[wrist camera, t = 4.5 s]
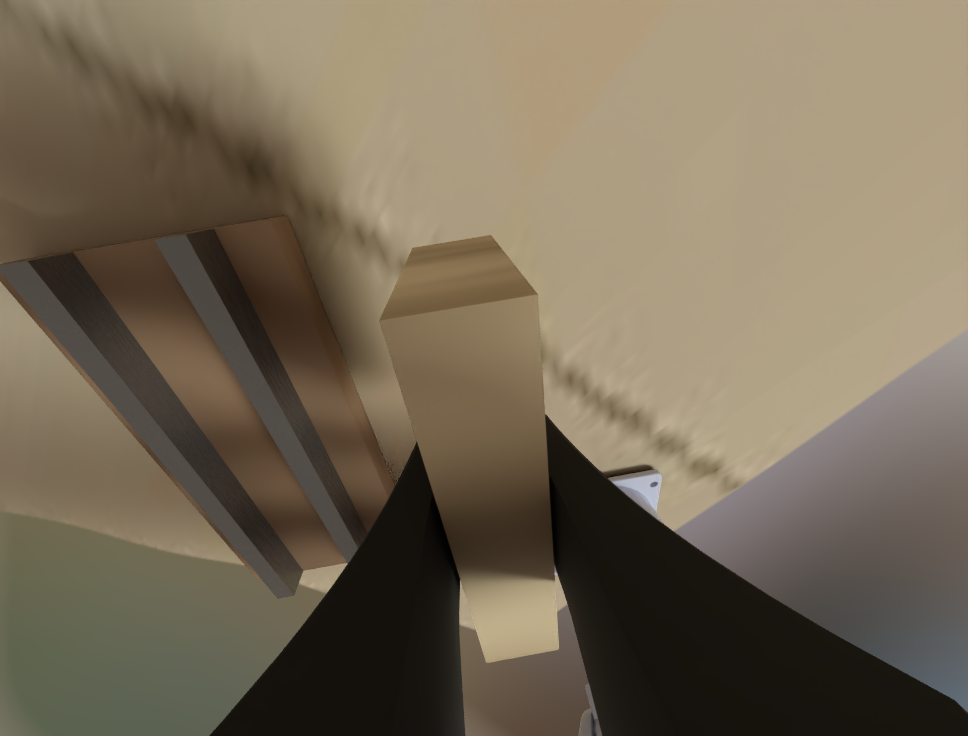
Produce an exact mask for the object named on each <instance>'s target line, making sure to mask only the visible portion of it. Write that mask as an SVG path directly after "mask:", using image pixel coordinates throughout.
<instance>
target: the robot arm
mask: <svg viewBox="0 0 968 736" xmlns="http://www.w3.org/2000/svg"><path fill="white" fill-rule="evenodd" d="M545 423H546V440H547V457H548V473H549V490H550V507H551V523H552V540H553V557H554V574H555V575H556V574H558V577H559V580H560V583H561V585H562V588H563V591H564V594H565V597H566V600H567V604H568V607H569V610H570V613H571V616H572V620H573V624H574V628H575V632H576V635H577V639H578V643H579V647H580V651H581V654H582V658H583V662H584V666H585V670H586V674H587V678H588V681H589V684H587V685H586V686H585V688H586V691H587V695H588V699H589V702H590V706H591V708H590V709H588V710H587V711H585V712H584V713H583V715H582V718H581V724H580V731H579V735H578V736H968V712H966V711H965V710H964V709H963V708H962V707H961V706H960V705H959V704H958V703H957V702H956V701H955V700H953V699H951V698H950V697H948V696H946V695H944V694H942V693H940V692H939V691H937V690H935V689H933V688H931V687H929V686H928V685H926V684H924V683H922V682H920V681H918V680H917V679H915V678H913V677H911V676H909V675H908V674H906V673H904V672H902V671H900V670H898V669H896V668H895V667H893V666H891V665H889V664H887V663H885V662H884V661H882V660H880V659H878V658H876V657H875V656H873V655H871V654H869V653H867V652H865V651H863V650H862V649H860V648H858V647H856V646H854V645H853V644H851V643H849V642H847V641H845V640H844V639H842V638H840V637H838V636H836V635H835V634H833V633H831V632H829V631H828V630H826V629H824V628H822V627H821V626H819V625H817V624H816V623H814V622H813V621H811V620H809V619H807V618H806V617H804V616H803V615H801V614H799V613H798V612H796V611H794V610H792V609H791V608H789V607H788V606H786V605H784V604H783V603H781V602H779V601H777V600H776V599H774V598H772V597H771V596H769V595H768V594H766V593H765V592H763V591H762V590H760V589H758V588H757V587H755V586H754V585H752V584H751V583H749V582H748V581H746V580H745V579H743V578H741V577H740V576H738V575H737V574H735V573H734V572H732V571H730V570H729V569H727V568H726V567H724V566H723V565H721V564H720V563H718V562H717V561H715V560H714V559H712V558H711V557H709V556H708V555H706V554H705V553H703V552H702V551H700V550H699V549H697V548H696V547H695V546H693V545H692V544H690V543H689V542H688V541H686V540H685V539H683V538H682V537H681V536H679V535H678V534H676V533H675V532H674V531H672V530H671V529H669V528H668V527H667V526H666V525H664V524H663V522H662V521H661V519H660V518H659V516H658V514H657V513H656V510H657V504H658V498H659V492H660V486H661V480H662V475H661V474H660V472H659V471H658V470H648V471H643V472H637V473H632V474H626V475H621V476H615V477H610V478H607V477H606V476H605V475H604V474H603V473H601V472H600V471H599V470H598V469H597V468H596V467H595V466H594V465H593V464H592V463H591V462H590V461H589V460H588V459H587V458H586V457H585V456H584V455H583V454H582V453H581V452H580V451H579V450H578V449H577V448H576V447H575V446H574V445H573V444H572V443H571V442H570V441H569V440H568V439H567V438H566V437H565V436H564V435H563V434H562V432H561V431H560V430H559V429H558V428H557V427H556V426H555V425H554V423H553V422H552V421H551V420H550V419H549V417H548V416H547V415H546V414H545ZM459 599H460V577H459V574H458V571H457V567H456V564H455V561H454V558H453V555H452V551H451V548H450V545H449V542H448V539H447V535H446V532H445V529H444V526H443V523H442V519H441V516H440V513H439V510H438V507H437V504H436V500H435V497H434V494H433V491H432V488H431V484H430V481H429V478H428V475H427V472H426V468H425V465H424V462H423V459H422V456H421V452H420V449H419V446H418V443H417V442H416V445H415V447H414V449H413V451H412V453H411V456H410V458H409V460H408V462H407V464H406V466H405V468H404V470H403V472H402V474H401V476H400V478H399V480H398V482H397V483H396V485H395V487H394V489H393V491H392V493H391V495H390V496H389V498H388V500H387V502H386V504H385V506H384V507H383V509H382V511H381V512H380V514H379V516H378V517H377V519H376V521H375V522H374V524H373V526H372V527H371V529H370V530H369V532H368V534H367V535H366V537H365V539H364V540H363V542H362V543H361V545H360V546H359V548H358V550H357V551H356V553H355V554H354V556H353V557H352V559H351V560H350V562H349V563H348V564H347V566H346V567H345V569H344V570H343V572H342V573H341V574H340V576H339V577H338V579H337V580H336V582H335V583H334V584H333V586H332V587H331V589H330V590H329V591H328V593H327V594H326V595H325V597H324V598H323V599H322V601H321V602H320V603H319V605H318V606H317V607H316V608H315V610H314V611H313V612H312V614H311V615H310V616H309V618H308V619H307V620H306V622H305V623H304V624H303V626H302V627H301V628H300V630H299V631H298V632H297V633H296V634H295V636H294V637H293V638H292V640H291V641H290V642H289V643H288V644H287V646H286V647H285V648H284V649H283V651H282V652H281V653H280V654H279V656H278V657H277V658H276V659H275V660H274V662H273V663H272V664H271V665H270V666H269V667H268V668H267V670H266V671H265V672H264V673H263V674H262V675H261V677H260V678H259V679H258V680H257V682H255V684H254V685H253V686H252V687H251V688H250V689H249V691H248V692H247V693H246V694H245V695H244V696H243V698H242V699H241V700H240V701H239V703H237V705H236V706H235V707H234V708H233V709H232V710H231V712H230V713H229V714H228V715H227V716H226V718H225V719H224V720H223V721H222V722H221V723H220V724H219V726H218V727H217V728H216V729H215V730H214V731H213V732H212V733H211V734H210V736H465V725H464V709H463V693H462V676H461V658H460V639H459Z"/></svg>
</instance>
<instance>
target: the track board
mask: <svg viewBox="0 0 968 736" xmlns="http://www.w3.org/2000/svg"><path fill="white" fill-rule="evenodd" d="M0 281H1V282H2V284H3V285H4V286H5V287H6V288H7V289H8V291H9V292H10V293H11V294H12V295H13V296H14V298H15V299H16V300H17V301H18V302H19V303H20V304H21V306H22V307H23V308H24V309H25V310H26V311H27V313H28V314H29V315H30V316H31V317H32V318H33V320H34V321H35V322H36V323H37V324H38V325H39V327H40V328H41V329H42V330H43V331H44V332H45V333H46V335H47V336H48V337H49V338H50V339H51V340H52V342H53V343H54V344H55V345H56V346H57V347H58V349H59V350H60V351H61V352H62V353H63V354H64V356H65V357H66V358H67V359H68V360H69V361H70V363H71V364H72V365H73V366H74V367H75V368H76V369H77V371H78V372H79V373H80V374H81V375H82V376H83V378H84V379H85V380H86V381H87V382H88V383H89V385H90V386H91V387H92V388H93V389H94V390H95V392H96V393H97V394H98V395H99V396H100V397H101V399H102V400H103V401H104V402H105V403H106V404H107V405H108V407H109V408H110V409H111V410H112V411H113V412H114V414H115V415H116V416H117V417H118V418H119V419H120V421H121V422H122V423H123V424H124V425H125V426H126V428H127V429H128V430H129V431H130V432H131V433H132V434H133V436H134V437H135V438H136V439H137V440H138V441H139V443H140V444H141V445H142V446H143V447H144V448H145V450H146V451H147V452H148V453H149V454H150V455H151V457H152V458H153V459H154V460H155V461H156V462H157V464H158V465H159V466H160V467H161V468H162V469H163V470H164V472H165V473H166V474H167V475H168V476H169V477H170V479H171V480H172V481H173V482H174V483H175V484H176V486H177V487H178V488H179V489H180V490H181V491H182V493H183V494H184V495H185V496H186V497H187V498H188V499H189V501H190V502H191V503H192V504H193V505H194V506H195V508H196V509H197V510H198V511H199V512H200V513H201V515H202V516H203V517H204V518H205V519H206V520H207V522H208V523H209V524H210V525H211V526H212V527H213V529H214V530H215V531H216V532H217V533H218V534H219V535H220V537H221V538H222V539H223V540H224V541H225V542H226V544H227V545H228V546H229V547H230V548H231V549H232V551H233V552H234V553H235V554H236V555H237V556H238V558H239V559H240V560H241V561H242V562H243V563H244V564H245V566H246V567H247V568H248V569H249V570H250V571H251V572H252V574H253V575H254V576H255V577H256V578H257V579H260V578H261V579H262V580H263V582H264V583H265V584H266V585H267V586H268V587H269V589H270V590H271V591H272V592H273V593H274V595H275V596H276V597H277V598H283V597H288V596H294V594H295V592H296V589H297V586H298V584H299V581H300V578H301V575H302V573H303V571H304V570H309V569H315V568H320V567H326V566H331V565H337V564H342V563H347V564H348V563H349V562H350V560H351V559H352V557H353V556H354V554H355V553H356V551H357V550H358V548H359V546H360V545H361V543H362V542H363V540H364V539H365V537H366V535H367V534H368V532H369V530H370V529H371V527H372V526H373V524H374V522H375V521H376V519H377V517H378V516H379V514H380V512H381V511H382V509H383V507H384V506H385V504H386V502H387V500H388V498H389V496H390V495H391V493H392V491H393V489H394V487H395V485H394V483H393V480H392V478H391V475H390V473H389V470H388V468H387V465H386V463H385V460H384V457H383V455H382V452H381V450H380V447H379V445H378V442H377V440H376V437H375V435H374V432H373V430H372V427H371V425H370V422H369V420H368V417H367V415H366V412H365V410H364V407H363V405H362V402H361V400H360V397H359V395H358V392H357V390H356V387H355V385H354V382H353V380H352V377H351V375H350V372H349V370H348V367H347V365H346V362H345V360H344V357H343V355H342V352H341V350H340V347H339V345H338V342H337V340H336V337H335V335H334V332H333V330H332V327H331V325H330V322H329V320H328V317H327V315H326V312H325V310H324V307H323V304H322V302H321V299H320V297H319V294H318V292H317V289H316V287H315V284H314V282H313V279H312V277H311V274H310V272H309V269H308V267H307V264H306V262H305V259H304V257H303V254H302V252H301V249H300V247H299V244H298V242H297V239H296V237H295V234H294V232H293V229H292V227H291V224H290V222H289V219H288V217H287V215H286V216H280V217H274V218H268V219H262V220H256V221H250V222H244V223H238V224H232V225H226V226H220V227H214V228H208V229H202V230H196V231H190V232H184V233H178V234H172V235H166V236H160V237H154V238H149V239H143V240H137V241H131V242H125V243H119V244H113V245H107V246H101V247H95V248H89V249H83V250H77V251H71V252H65V253H59V254H53V255H47V256H41V257H35V258H30V259H25V260H19V261H14V262H9V263H4V264H0Z"/></svg>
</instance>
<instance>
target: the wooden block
mask: <svg viewBox="0 0 968 736" xmlns="http://www.w3.org/2000/svg"><path fill="white" fill-rule="evenodd" d="M379 322H380V325H381V328H382V331H383V334H384V338H385V341H386V344H387V347H388V350H389V354H390V357H391V360H392V363H393V366H394V370H395V373H396V376H397V379H398V382H399V385H400V389H401V392H402V395H403V398H404V401H405V405H406V408H407V411H408V414H409V417H410V421H411V424H412V427H413V430H414V433H415V437H416V440H417V443H418V446H419V449H420V452H421V456H422V459H423V462H424V465H425V468H426V472H427V475H428V478H429V481H430V484H431V488H432V491H433V494H434V497H435V500H436V504H437V507H438V510H439V513H440V516H441V519H442V523H443V526H444V529H445V532H446V535H447V539H448V542H449V545H450V548H451V551H452V555H453V558H454V561H455V564H456V567H457V571H458V574H459V577H460V580H461V583H462V586H463V590H464V593H465V596H466V599H467V602H468V606H469V609H470V612H471V615H472V618H473V622H474V625H475V628H476V631H477V634H478V638H479V641H480V644H481V647H482V650H483V653H484V657H485V659H486V663H489V662H495V661H500V660H505V659H511V658H516V657H521V656H527V655H532V654H537V653H543V652H548V651H553V650H559V642H558V625H557V607H556V590H555V574H554V557H553V540H552V523H551V507H550V490H549V473H548V457H547V440H546V423H545V406H544V390H543V373H542V356H541V339H540V323H539V306H538V294H537V293H536V291H535V290H534V289H533V288H532V286H531V285H530V284H529V283H528V281H527V280H526V279H525V278H524V276H523V275H522V274H521V272H520V271H519V270H518V269H517V267H516V266H515V265H514V264H513V262H512V261H511V260H510V259H509V257H508V256H507V255H506V254H505V252H504V251H503V250H502V249H501V247H500V246H499V245H498V243H497V242H496V241H495V240H494V238H493V237H492V236H491V235H489V236H483V237H477V238H471V239H465V240H459V241H452V242H446V243H440V244H434V245H428V246H422V247H416V248H412V251H411V253H410V255H409V257H408V259H407V261H406V264H405V266H404V268H403V270H402V272H401V275H400V277H399V279H398V281H397V283H396V285H395V288H394V290H393V292H392V294H391V296H390V298H389V301H388V303H387V305H386V307H385V309H384V311H383V314H382V316H381V318H380V320H379Z"/></svg>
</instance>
